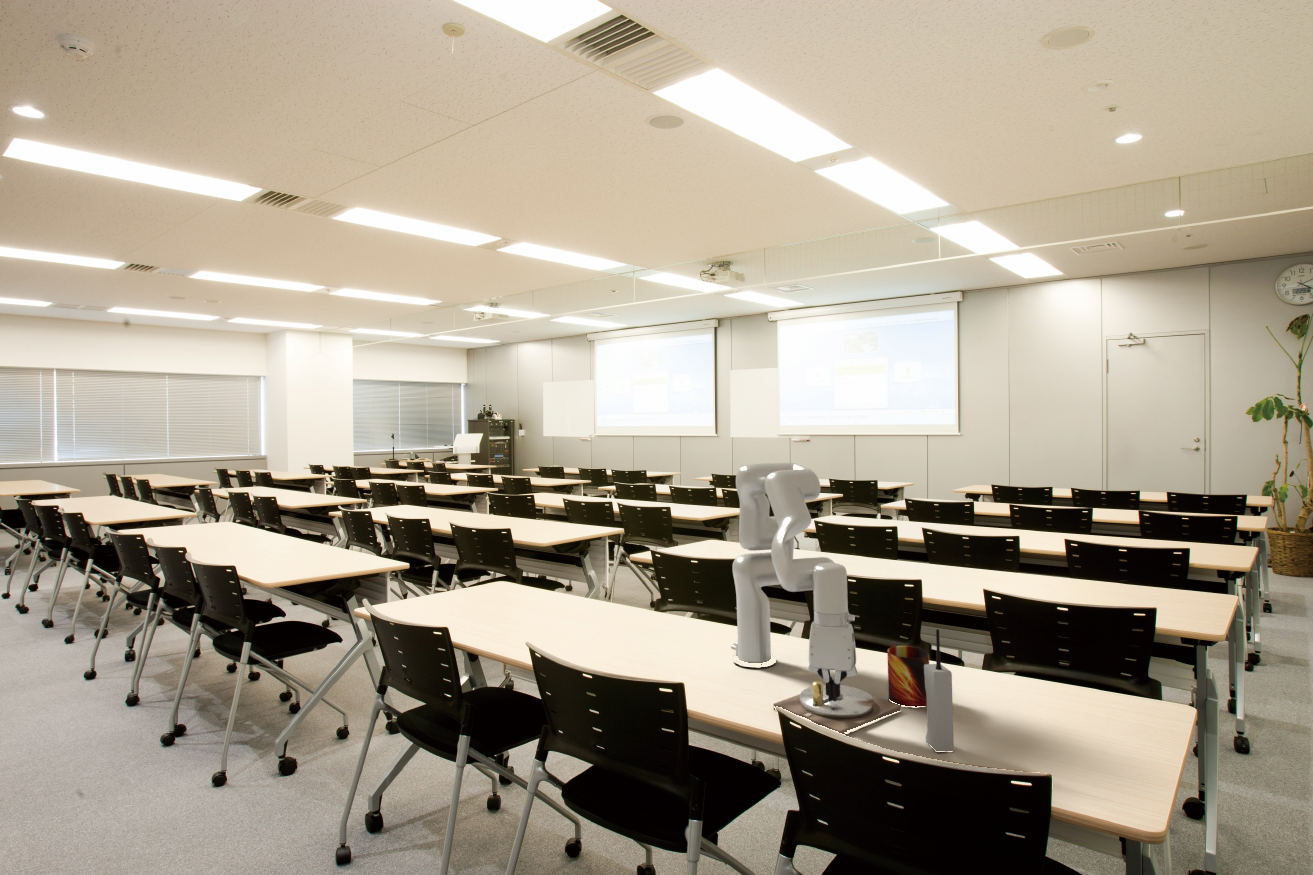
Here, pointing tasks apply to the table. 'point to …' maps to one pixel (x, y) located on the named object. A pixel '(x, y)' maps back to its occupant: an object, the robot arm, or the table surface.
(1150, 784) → the table surface
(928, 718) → the vintage mobile phone
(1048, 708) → the table surface
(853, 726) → the base board
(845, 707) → the dial
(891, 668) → the mug
